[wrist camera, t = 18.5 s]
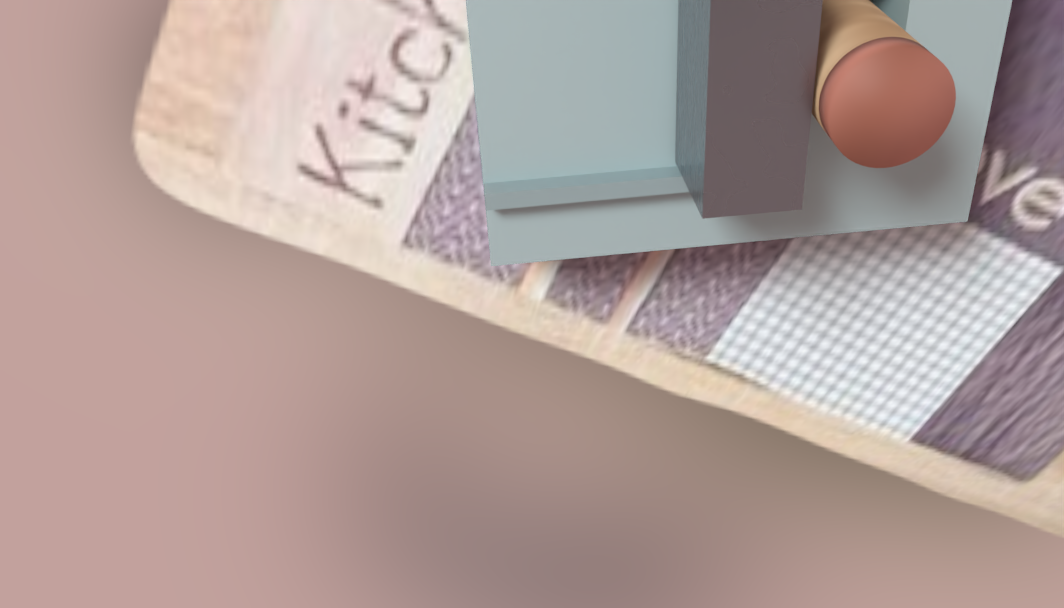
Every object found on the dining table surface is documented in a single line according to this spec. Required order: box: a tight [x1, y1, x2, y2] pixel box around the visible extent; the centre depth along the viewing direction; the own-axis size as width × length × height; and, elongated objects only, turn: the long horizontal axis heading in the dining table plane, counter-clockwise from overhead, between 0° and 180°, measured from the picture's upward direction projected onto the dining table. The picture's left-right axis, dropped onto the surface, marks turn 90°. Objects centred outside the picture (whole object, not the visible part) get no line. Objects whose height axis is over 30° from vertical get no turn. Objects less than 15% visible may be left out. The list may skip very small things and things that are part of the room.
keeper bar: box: [675, 0, 823, 219], centre depth 29 cm, size 3×7×4 cm, turn 4°
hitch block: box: [466, 0, 1012, 266], centre depth 33 cm, size 17×14×6 cm
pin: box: [812, 0, 956, 168], centre depth 31 cm, size 3×3×10 cm
